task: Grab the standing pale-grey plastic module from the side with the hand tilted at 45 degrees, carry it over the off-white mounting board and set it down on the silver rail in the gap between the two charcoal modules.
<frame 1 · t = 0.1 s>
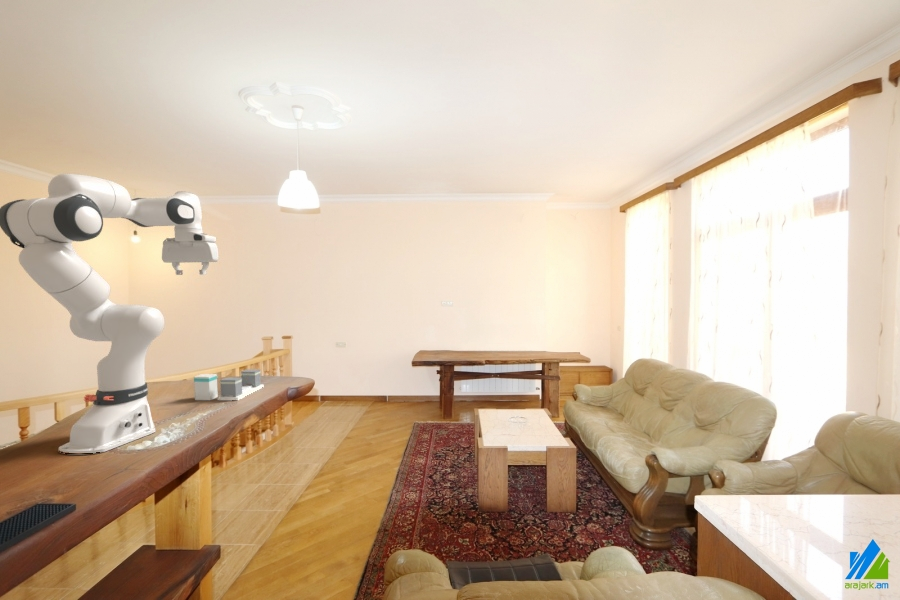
hand: (191, 274, 150), 48 cm above the table, tool pointing down, fingers open, 8 cm apart
rail mount: (242, 393, 161), on the table
module: (206, 398, 155), on the table
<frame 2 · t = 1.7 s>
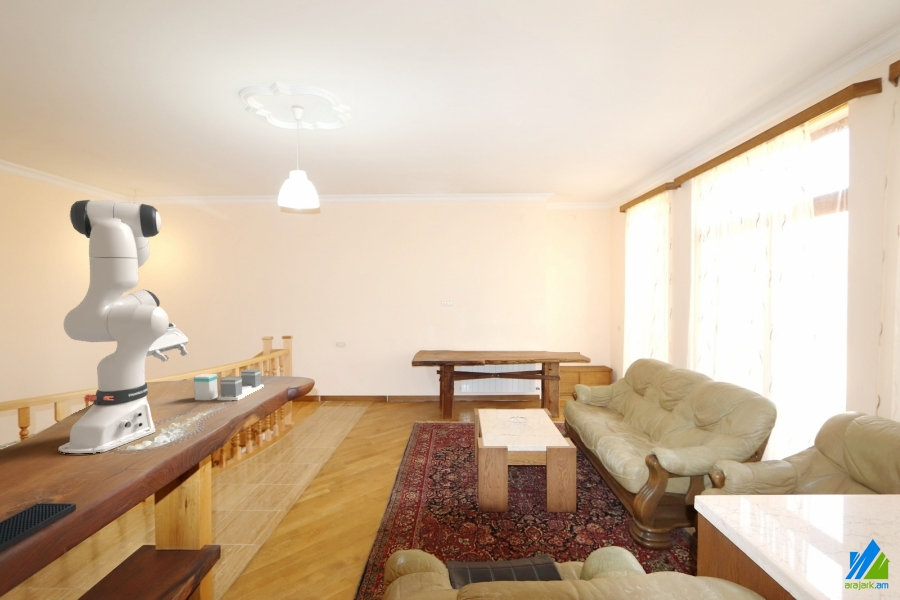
hand: (176, 357, 155), 16 cm above the table, tool tilted 45°, fingers open, 8 cm apart
nothing on the table moved.
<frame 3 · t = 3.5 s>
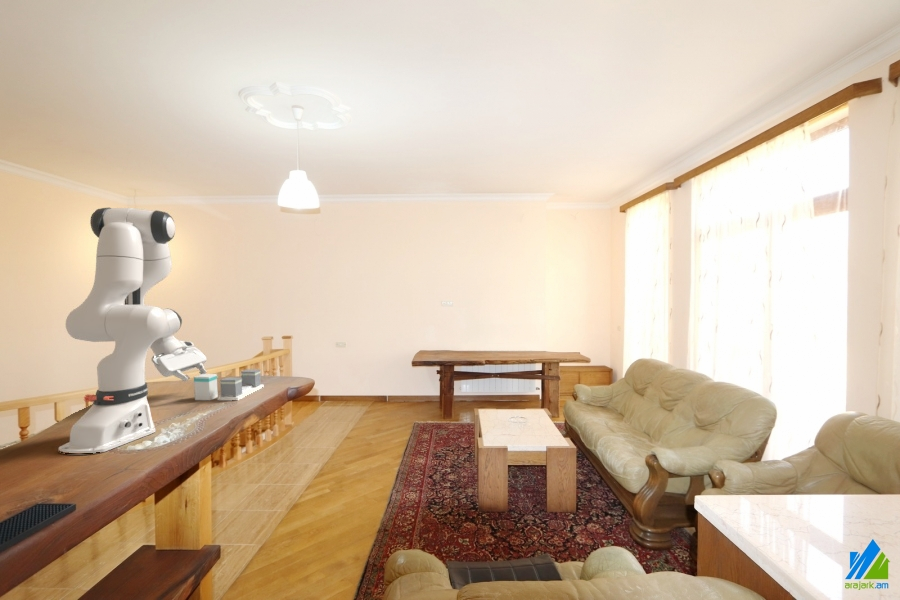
hand: (196, 376, 155), 8 cm above the table, tool tilted 45°, fingers open, 8 cm apart
nothing on the table moved.
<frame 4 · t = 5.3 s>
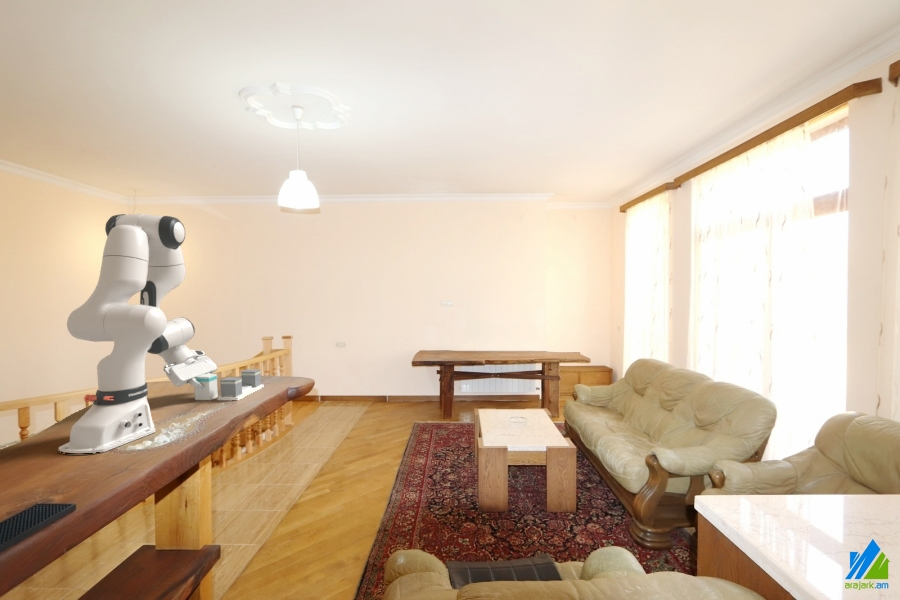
hand: (207, 385, 154), 5 cm above the table, tool tilted 45°, fingers closed on module, 4 cm apart
module: (206, 398, 155), on the table, touching gripper
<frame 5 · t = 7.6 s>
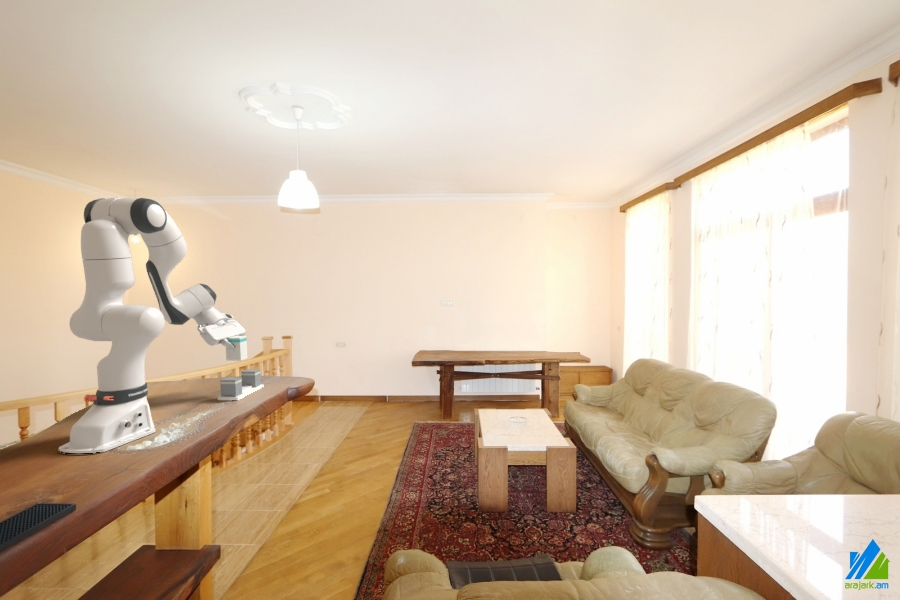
hand: (238, 347, 159), 19 cm above the table, tool tilted 45°, fingers closed on module, 4 cm apart
module: (237, 359, 160), point 14 cm above the table, touching gripper
when the fingers open (8 cm above the table, at t = 10.0 s): module drops 1 cm, resting on rail mount.
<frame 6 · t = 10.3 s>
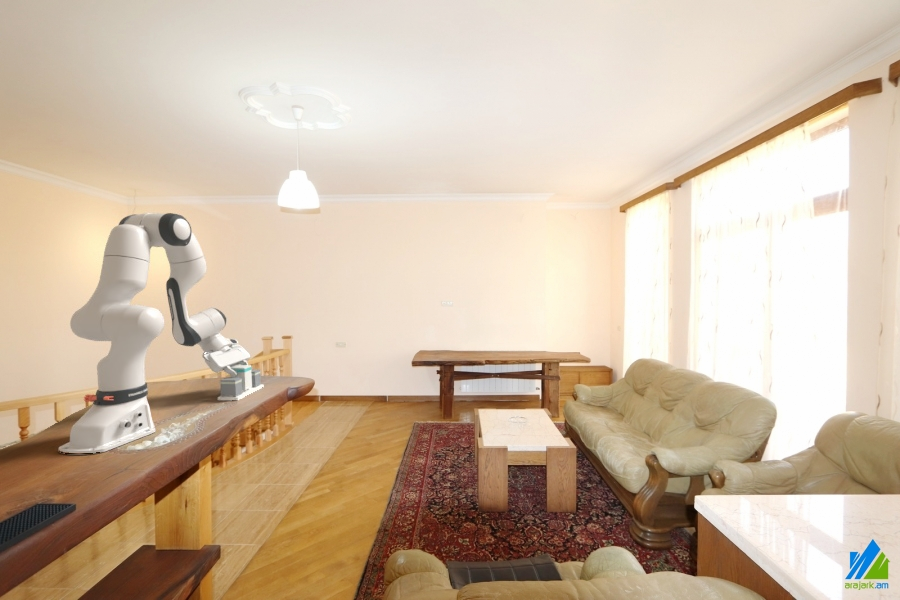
hand: (242, 372, 160), 8 cm above the table, tool tilted 45°, fingers open, 7 cm apart
module: (241, 388, 161), point 2 cm above the table, touching rail mount
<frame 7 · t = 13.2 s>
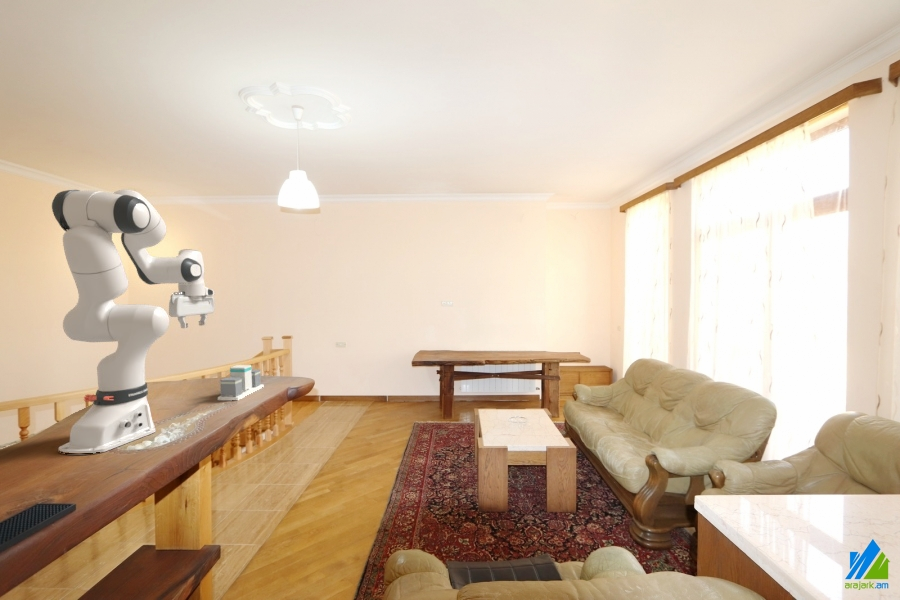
hand: (193, 326, 158), 27 cm above the table, tool pointing down, fingers open, 8 cm apart
nothing on the table moved.
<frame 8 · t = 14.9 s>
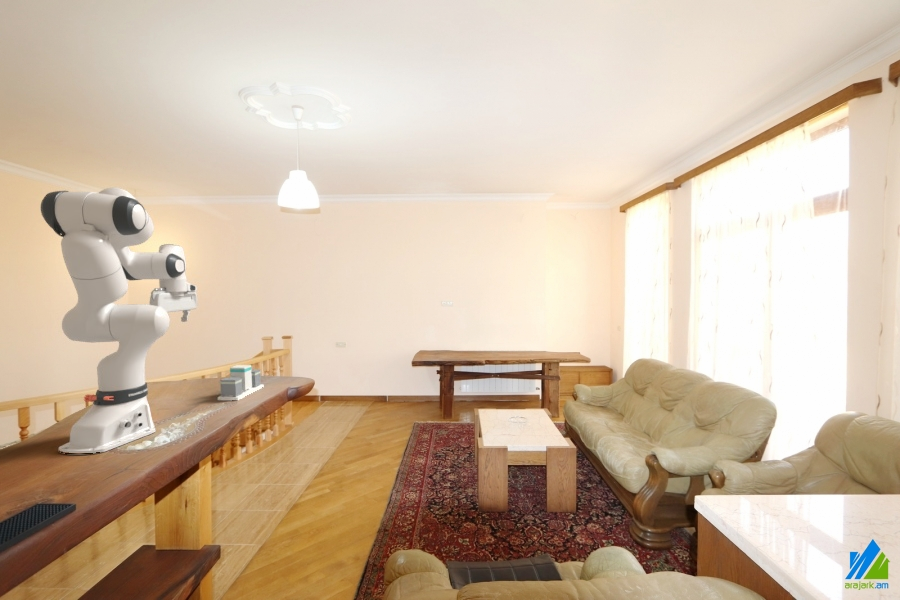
hand: (175, 323, 155), 29 cm above the table, tool pointing down, fingers open, 8 cm apart
nothing on the table moved.
at the end: module 0.1 cm off-centre on the rail mount, point 2.0 cm above the rail mount's base; module tilted 0°; the gripper is holding nothing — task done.
